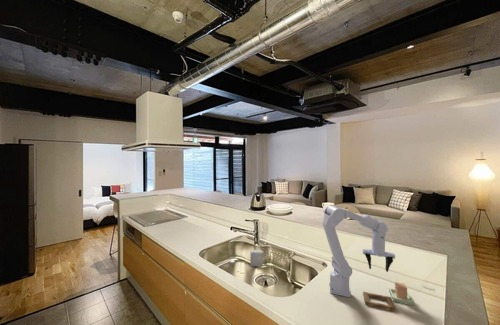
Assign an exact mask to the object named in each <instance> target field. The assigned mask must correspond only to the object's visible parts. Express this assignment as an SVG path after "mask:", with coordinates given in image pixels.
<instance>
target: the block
mask: <svg viewBox="0 0 500 325" xmlns="http://www.w3.org/2000/svg"><path fill="white" fill-rule="evenodd" d="M394 289H395V295H396V297H397V298H400V299H405V300H407V292H408V288H407V286H406V284H405V283H401V282H397V281H395V282H394Z"/></svg>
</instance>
